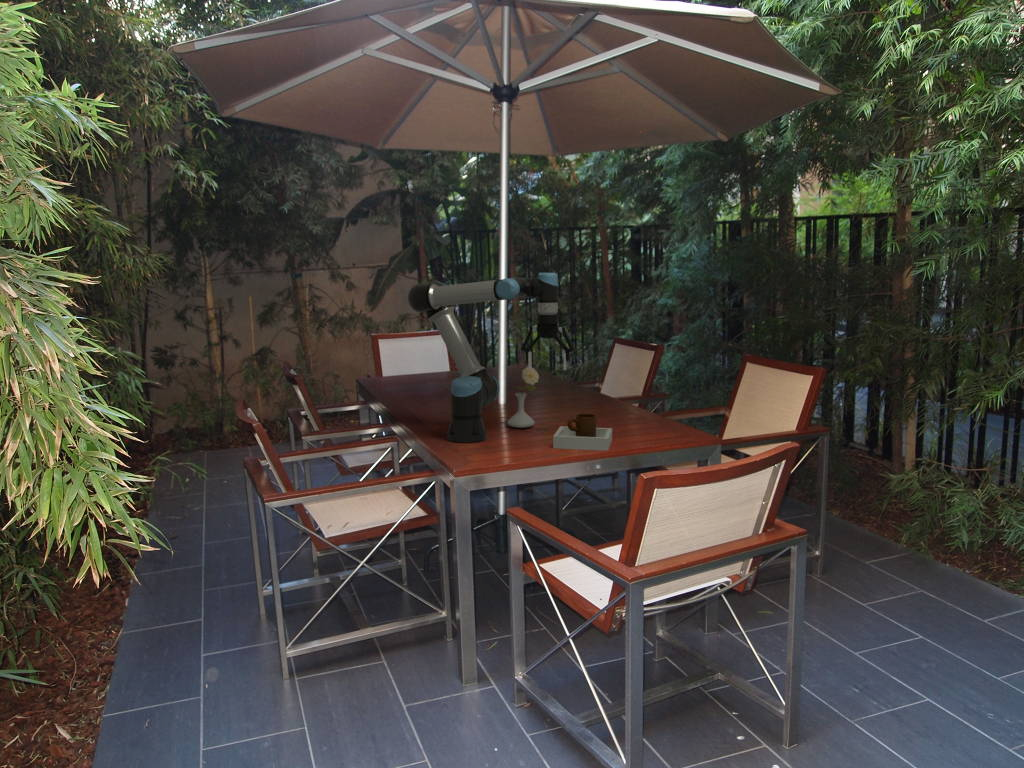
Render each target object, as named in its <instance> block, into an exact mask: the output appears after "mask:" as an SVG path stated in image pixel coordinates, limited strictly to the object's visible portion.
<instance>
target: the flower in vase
mask: <svg viewBox="0 0 1024 768" xmlns="http://www.w3.org/2000/svg"><path fill="white" fill-rule="evenodd" d="M521 372H522V373H521V376H522V377H521V378H522V380H523V381H524V383H526V385H525V386H524V388H522V387H519V386H517V385H515V388H516V390H519V391H522V392H517V393H514V395H515V396H516V398H517V402H518V403H517V404H518V407H517V408H518V409H517V412H516V413H515V414H514V415H513V416H511V417H510V418H509V419H508V420H507V425H508V426H509V427H512V428H517V429H519V428H520V429H524V428H530V427H532V426H534V425H535V424H536V422H535V420H534V419H533V417H531V416H529V414H527V412H525V407H524V406H525V399H526V397H527V395H528V393H526V392H525V390H526V389H527V390H528V391H530V392H531V391H534V390H536V387H535V384H536V383H539V379H540V377H539V376H540V375H539V373H538V371H537V370H536V369H535V368H533V367H532V368H531V369H528V366H526V367H525V368H524V369H522V371H521Z"/></svg>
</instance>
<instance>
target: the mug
mask: <svg viewBox="0 0 1024 768" xmlns="http://www.w3.org/2000/svg"><path fill="white" fill-rule="evenodd" d="M572 423H575V426H573V424H572ZM566 426H567V427H568V428H569V429H570V430H571V431H575V432H576V436H580V437H596V428H597V416H596V415H595V414H591V413H579V414H577V415H576V416H575V417H571V418H569V419H568V421H567V423H566Z"/></svg>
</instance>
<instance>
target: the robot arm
mask: <svg viewBox="0 0 1024 768" xmlns="http://www.w3.org/2000/svg"><path fill="white" fill-rule="evenodd" d="M558 277H559V276H558V274H557V273H556V272H539V273H538V274H537V277H509V278H503V279H495V280H493V279H492V280H484V281H476V282H467V283H455V284H445V283H443V282H438V281H431V282H419V283H417V284H415V285H413V286H412V287H411V288H410V289H409V291H408V293H407V294H408V295H407V302H408V305H409V307H410V308H411V309H412V310H413V311H415V312H417V313H421V314H425V315H426V317H427V320H428V321H429V322H433V323H434V325H435V327H436V328H437V331H438V332H439V335H440V337H441V338H442V340H443V342H444V344H445V347H446V349H447V350H448V352H449V354H450V356H451V358H452V361H453V362H454V364H455V366H456V368H457V370H458V372H459V373H460V374H459V375H460V377H457V378H455V379H453V380H452V381H451V387H450V399H451V401H450V403H451V420H450V423H449V427H448V430H447V433H446V434H447V435H446V439H447V440H448V441H450V442H455V443H463V444H464V443H465V444H466V443H470V444H471V443H479V442H483V441H485V440H487V431H486V427H485V424H484V421H483V414H482V413H483V407H485V406H489V405H490V404H492V403H494V402H495V401H496V400H497V398H498V397H499V394H500V388H501V387H500V384H499V380H497V378H496V377H495V376H493V375H491V374H489V372H488V370H487V367H486V366H485V367H484V366H482V365H481V364H480V363H479V360H478V358H477V356H476V354H475V353H474V350H473V348H472V347H471V344H470V343H469V341H468V339H467V337H466V335H465V333H464V330H463V329H462V327H461V325H460V324H459V321H458V319H457V317H456V315H455V313H454V311H455V308H456V307H455V306H454V305H465V304H475V303H484V302H493V301H494V302H495V301H505V300H506V301H509V300H514V299H524V298H525V299H526V298H528V299H529V298H531V299H533V298H537V313H538V315H537V326H533V325H531V326H529V330H528V333H527V335H526V338H525V339H524V341H523V344H522V345H521V347H520V350H521V351H523V352H525V360H526V361H528V364H527V367H528V369H531V368H533V367H532V366H533V365H532V360H533V359H532V358H533V357H532V355H533V354H532V352H533V351H531V350H532V349H533V348H534V346H535V345H537V343H538V342H539V340H540V339H541V338H542V339H554V340H555V341H556V342H557V343H558V345H559V346H560V347H561V349H562V350H564V353H563V371H567V366H568V365H567V364H568V363H567V362H569V361H570V356H571V355H570V353H571V352H574V351H575V347H574V345H573V343H572V341H571V338H570V336H569V335H568V332H567V328H566V326H562V327H561V326H560V327H559V326H558V325H559V324H558V323H559V317H558V314H557V313H558V312H559V311H558V310H559V307H558V306H559V305H558V303H559V302H558V298H559V295H558V294H559V279H558ZM535 332H537V333H538V334H537V335H536V337H535V338H534V339H533V340H532V342H531V343H530V344H529V345H528V343H529V342H530V340H531V338H532V335H533V333H535ZM558 332H560V333H561V334H562V336H563V337H564V339H565V342H566V343H565V342H564V341H563V340H562V339H561V338H560V336H559V335H558ZM566 344H567V345H566ZM527 345H528V346H527Z"/></svg>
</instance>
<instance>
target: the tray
mask: <svg viewBox="0 0 1024 768" xmlns="http://www.w3.org/2000/svg"><path fill="white" fill-rule="evenodd" d="M552 437H553V438H552V447H553V448H552V449H560V450H584V451H586V450H587V451H600V452H601V451H605V452H606V451H607V452H608V451H609V449H610V446H611V445H612V440H613V428H612V427H610V428H609V427H608V428H607V427H596V437H580V436H576V432H575V431H571V430H570V429H569V428H568V425H566V426H563V425H560V426H559V428H558V429H557V430H556V431H555V433H554V435H553V436H552Z"/></svg>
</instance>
